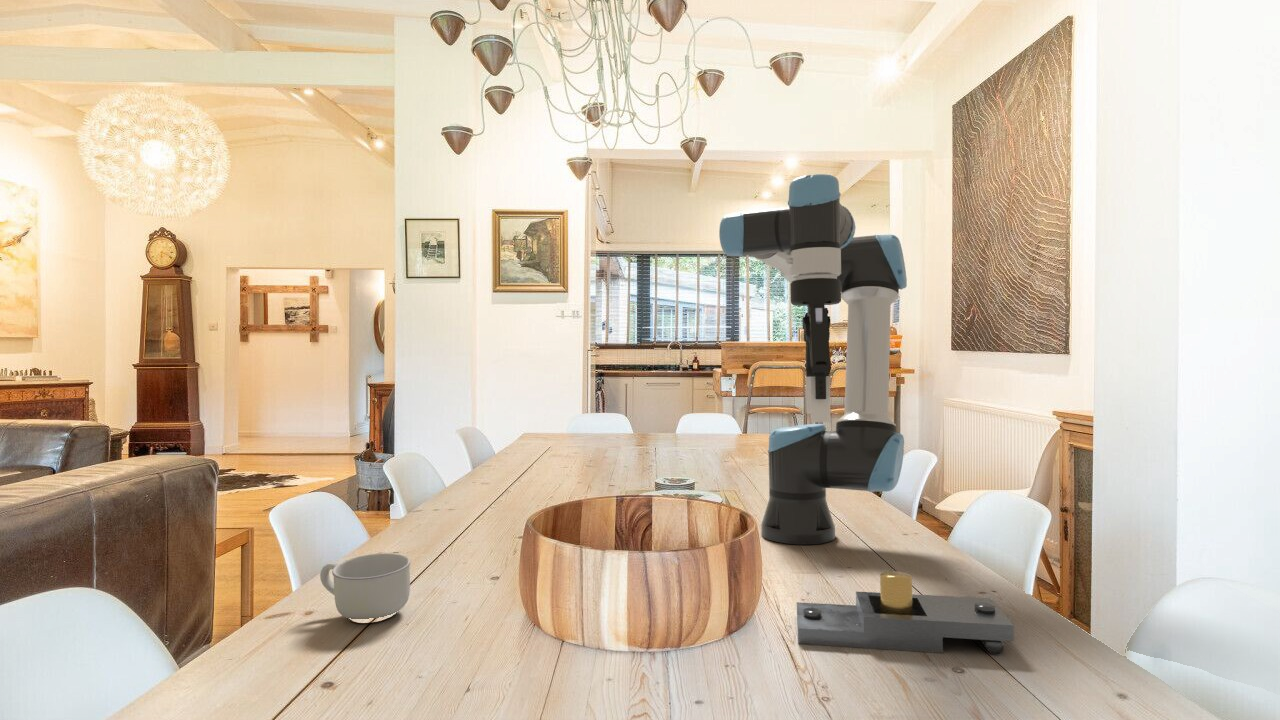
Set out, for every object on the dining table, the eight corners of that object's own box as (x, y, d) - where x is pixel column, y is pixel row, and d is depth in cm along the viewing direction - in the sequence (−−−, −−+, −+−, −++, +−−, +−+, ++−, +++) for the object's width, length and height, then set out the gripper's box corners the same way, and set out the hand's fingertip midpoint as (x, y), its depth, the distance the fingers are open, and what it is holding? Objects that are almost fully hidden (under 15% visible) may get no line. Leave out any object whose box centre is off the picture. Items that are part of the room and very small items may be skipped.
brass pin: (879, 628, 97) (878, 570, 97) (910, 630, 96) (909, 571, 96) (883, 640, 93) (882, 579, 93) (915, 642, 92) (914, 581, 92)
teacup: (426, 609, 106) (425, 557, 107) (371, 635, 97) (370, 577, 97) (358, 597, 112) (358, 547, 112) (300, 621, 103) (299, 566, 103)
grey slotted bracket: (796, 616, 102) (796, 584, 102) (990, 627, 96) (990, 593, 96) (798, 643, 92) (797, 608, 92) (1014, 657, 87) (1013, 620, 87)
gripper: (788, 286, 120) (790, 410, 120) (792, 270, 96) (795, 426, 96) (833, 285, 119) (835, 410, 119) (849, 268, 94) (852, 426, 95)
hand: (817, 417), depth 108 cm, fingers open, 13 cm apart
